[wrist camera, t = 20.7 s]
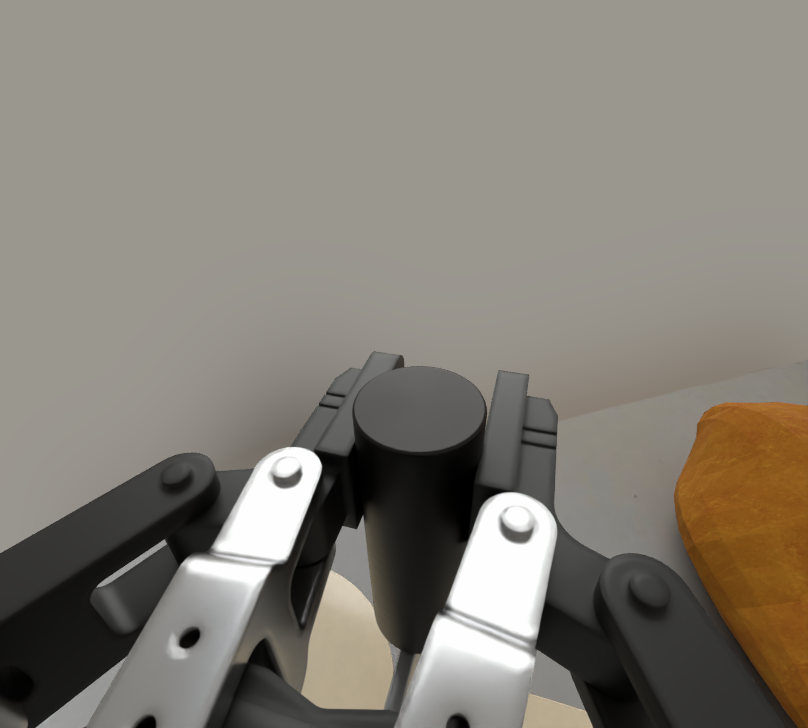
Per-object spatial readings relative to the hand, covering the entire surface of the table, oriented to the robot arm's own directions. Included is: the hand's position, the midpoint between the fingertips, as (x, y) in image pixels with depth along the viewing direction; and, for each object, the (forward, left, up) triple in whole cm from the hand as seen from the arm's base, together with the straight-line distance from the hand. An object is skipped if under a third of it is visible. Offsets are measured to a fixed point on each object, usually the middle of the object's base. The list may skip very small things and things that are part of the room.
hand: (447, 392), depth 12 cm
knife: (0, -3, -14) cm, 14 cm away
